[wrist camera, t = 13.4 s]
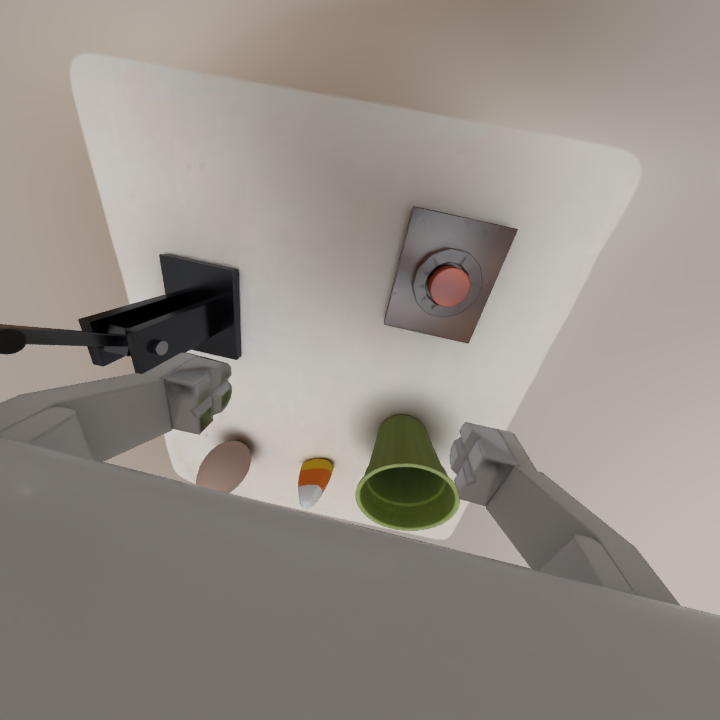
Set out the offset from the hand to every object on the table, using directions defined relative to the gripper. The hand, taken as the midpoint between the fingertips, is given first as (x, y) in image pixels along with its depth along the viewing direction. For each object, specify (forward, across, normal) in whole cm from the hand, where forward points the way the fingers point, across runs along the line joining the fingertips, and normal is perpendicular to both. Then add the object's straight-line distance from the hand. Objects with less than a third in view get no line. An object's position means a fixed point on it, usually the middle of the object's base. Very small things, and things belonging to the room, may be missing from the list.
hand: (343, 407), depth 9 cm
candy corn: (+24, +3, +32) cm, 40 cm away
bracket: (+24, +21, +8) cm, 33 cm away
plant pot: (+24, -9, +21) cm, 33 cm away
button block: (+24, -7, -2) cm, 25 cm away
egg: (+24, +17, +32) cm, 44 cm away
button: (+20, -7, -2) cm, 21 cm away
